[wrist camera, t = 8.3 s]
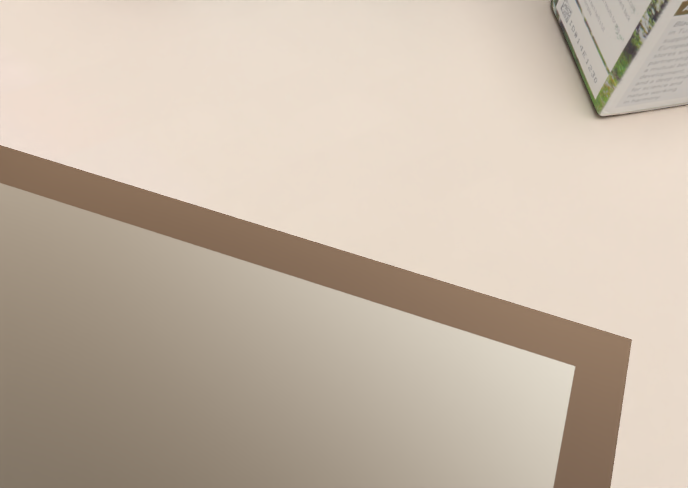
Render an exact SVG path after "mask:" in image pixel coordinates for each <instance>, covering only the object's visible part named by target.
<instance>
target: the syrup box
mask: <svg viewBox="0 0 688 488" xmlns="http://www.w3.org/2000/svg"><path fill="white" fill-rule="evenodd" d="M551 5H552V8H553V11H554V13H555V15H556V18H557V20H558V22H559V24H560V26H561V29H562V31H563V34H564V36H565V38H566V40H567V43H568V45H569V48H570V50H571V52H572V55H573V57H574V59H575V61H576V64H577V66H578V68H579V71H580V73H581V75H582V78H583V80H584V83H585V85H586V87H587V90H588V92H589V94H590V97H591V100H592V102H593V104H594V107H595V108H596V110H597V113H598V114H599V115H601V116H609V115H616V114H626V113H633V112H641V111H648V110H655V109H661V108H667V107H674V106H680V105H686V104H688V0H552V1H551Z"/></svg>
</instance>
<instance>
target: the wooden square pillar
mask: <svg viewBox="0 0 688 488" xmlns="http://www.w3.org/2000/svg"><path fill="white" fill-rule="evenodd" d="M631 341H632V340H631V339H628V338H625V337H622V336H618V335H615V334H612V333H609V332H605V331H602V330H599V329H596V328H592V327H589V326H586V325H583V324H579V323H576V322H573V321H570V320H567V319H563V318H560V317H557V316H554V315H550V314H547V313H544V312H541V311H537V310H534V309H531V308H528V307H524V306H521V305H518V304H515V303H511V302H508V301H505V300H502V299H498V298H495V297H492V296H489V295H485V294H482V293H479V292H476V291H472V290H469V289H466V288H463V287H459V286H456V285H453V284H450V283H446V282H443V281H440V280H437V279H433V278H430V277H427V276H424V275H420V274H417V273H414V272H411V271H407V270H404V269H401V268H398V267H394V266H391V265H388V264H385V263H381V262H378V261H375V260H372V259H368V258H365V257H362V256H359V255H355V254H352V253H349V252H346V251H342V250H339V249H336V248H333V247H329V246H326V245H323V244H320V243H316V242H313V241H310V240H307V239H303V238H300V237H297V236H294V235H290V234H287V233H284V232H281V231H277V230H274V229H271V228H268V227H264V226H261V225H258V224H255V223H251V222H248V221H245V220H242V219H238V218H235V217H232V216H229V215H225V214H222V213H219V212H216V211H212V210H209V209H206V208H203V207H199V206H196V205H193V204H190V203H186V202H183V201H180V200H177V199H173V198H170V197H167V196H164V195H160V194H157V193H154V192H151V191H147V190H144V189H141V188H138V187H134V186H131V185H128V184H125V183H121V182H118V181H115V180H112V179H108V178H105V177H102V176H99V175H95V174H92V173H89V172H86V171H82V170H79V169H76V168H73V167H69V166H66V165H63V164H60V163H56V162H53V161H50V160H47V159H43V158H40V157H37V156H34V155H30V154H27V153H24V152H21V151H17V150H14V149H11V148H8V147H4V146H1V145H0V488H610V485H611V479H612V472H613V465H614V458H615V451H616V444H617V437H618V430H619V423H620V417H621V410H622V403H623V396H624V389H625V382H626V375H627V368H628V362H629V355H630V348H631Z"/></svg>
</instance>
